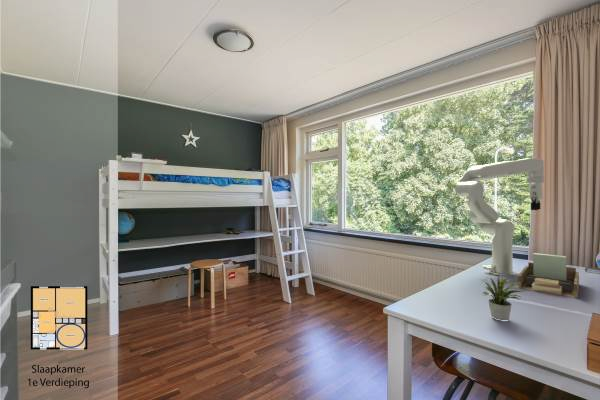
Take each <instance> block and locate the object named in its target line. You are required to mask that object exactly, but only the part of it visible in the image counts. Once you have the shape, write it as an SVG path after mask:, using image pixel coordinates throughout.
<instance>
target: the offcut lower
mask: <svg viewBox="0 0 600 400" xmlns="http://www.w3.org/2000/svg"><path fill="white" fill-rule="evenodd" d="M532 290H535V291H534V292H537V291H540V292H539V293H543V292H546V293H545V294H549V293H552V294H551V295H554V294H558V295H557V296H560V295H562V286H559V288H558V289H557V288H551V287H545V286H538V285H535V282H533V284H532Z"/></svg>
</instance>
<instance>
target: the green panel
mask: <svg viewBox="0 0 600 400" xmlns="http://www.w3.org/2000/svg"><path fill="white" fill-rule="evenodd" d="M532 258H533V261H532V263H533V268H534V276H539V277H546V278H553V279H560V280H566V267H567V256H566V255H558V254H549V253H548V254H547V253H538V252H534V253H532Z"/></svg>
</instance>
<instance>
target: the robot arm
mask: <svg viewBox="0 0 600 400" xmlns="http://www.w3.org/2000/svg"><path fill="white" fill-rule="evenodd" d="M544 166H545V165H544V160H543V159H541V158H537V157H527V158H522V159H517V160H507V161H505V160H504V161H500V162H493V163H488V164H483V165H477V166H471V167H469V168H467V170H466V171H464V173H463V174H462V176H461V177H460V178H459V179H458V181H457V183H456V184H455V187H454V191H455V193H456V194H457V196H459V197H467V198H468V199H467V206H468V208H469V211H468V218H469V219H470V221H471V222H472V223H473V224H474V225H475V226H477V228H479V229H480V230H481V231H482V232H484V233H486V234H488V235H489V234H491V235H494V236H493V238H492V241H491V262H492V263H490V265H482V269H483V270H487V271H489V273H490V274H491V275H495V276H498V275H499V276H516V275H517V272H515V271H514V270H513V269H514V267H513V266H514V265H513V264H514V263H513V261H514V260H513V239H514V238H513V237H514V234H515V233H514V231H515V225H514V223H513V221H511V220H509V219H505V218H499V217H500V216H499V213H498V212H497V211H496V209H494V208H493V207H492V206H491V205H490V204H489V203H487V202H486V200H485V199H484V191H485V189H484V188H485V187H484V185H483V183H481V182H480V181H486V180H491V179H497V178H502V177H503V178H504V177H510V176H515V175H518V174H524V173H525V174H526V184H528V186H529V199H530V211H538V210H541V200H543V185H542V184H543V183H544V181H545V180H544V179H545V175H544V172H545V171H544Z"/></svg>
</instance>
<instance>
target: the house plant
mask: <svg viewBox="0 0 600 400" xmlns="http://www.w3.org/2000/svg"><path fill="white" fill-rule="evenodd" d="M487 279H489V280H490V282H491V283H492V285H491V284H490V283H489V282H488V280H487ZM487 279H482V282H484V283H485V284H486V285H487V286H485V287H484V288H485V289H486V290H488V291H489V292H490V293H489V292H487V291H483V292H482V293H481V294H482V295H483V296H489V297H491V298H490V299H488V306H489V310H490V311H489V312H490V316H491V318H492V317H494V318H496V319H500V320H509V321H510V317H511V315H510V314H511V310H512V302H510V301H508V300H510V299H515V300H516V299H517V300H519V301H521V300H520V299H522V296H520V295H518V294H513V293H523V291H522V290H512V288H514V289H517V288H518V287H519V286H518V283H520V282H518V281H517V282H514V283H512V284H510V285H509V286H508V287H506V288H505V285H506V284H507V283H508V282H509V281H510V280H511V279H512V277H510V278H508V279H507V280H506V277H505V276H504V277H502V279H501V280H500V275H497V281H496V282H495V281H494V279H493V278H491V277H487ZM496 283H497V284H496ZM492 286H493V287H492ZM516 287H517V288H516ZM504 288H505V289H504ZM522 300H523V299H522Z"/></svg>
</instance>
